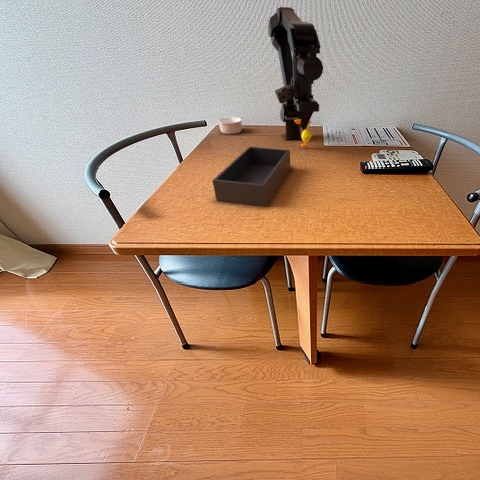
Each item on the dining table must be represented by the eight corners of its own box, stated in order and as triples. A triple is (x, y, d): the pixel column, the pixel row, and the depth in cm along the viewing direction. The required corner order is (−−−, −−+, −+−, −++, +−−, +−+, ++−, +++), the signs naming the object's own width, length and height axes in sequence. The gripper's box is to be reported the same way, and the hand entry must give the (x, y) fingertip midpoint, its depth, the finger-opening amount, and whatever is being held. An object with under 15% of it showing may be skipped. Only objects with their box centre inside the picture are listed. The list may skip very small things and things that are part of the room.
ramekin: (223, 127, 117) (221, 116, 114) (245, 128, 117) (243, 117, 114) (216, 134, 110) (214, 122, 107) (240, 135, 110) (238, 123, 107)
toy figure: (294, 147, 97) (295, 110, 90) (292, 144, 100) (293, 107, 93) (314, 147, 99) (316, 110, 92) (311, 144, 102) (313, 108, 95)
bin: (251, 164, 88) (249, 146, 85) (290, 168, 87) (289, 150, 83) (216, 201, 70) (212, 180, 66) (265, 206, 68) (263, 185, 65)
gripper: (271, 71, 92) (275, 121, 101) (280, 80, 78) (283, 138, 87) (305, 70, 94) (305, 120, 104) (320, 80, 80) (318, 136, 90)
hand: (302, 128), depth 96 cm, fingers closed on toy figure, 2 cm apart
